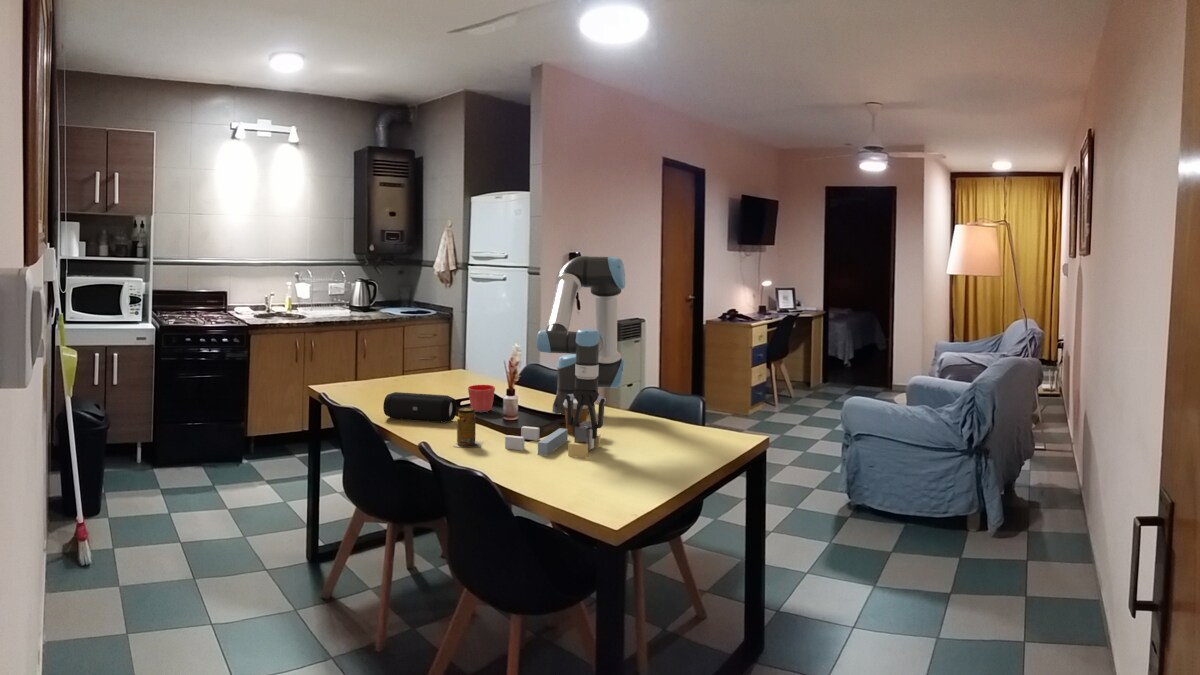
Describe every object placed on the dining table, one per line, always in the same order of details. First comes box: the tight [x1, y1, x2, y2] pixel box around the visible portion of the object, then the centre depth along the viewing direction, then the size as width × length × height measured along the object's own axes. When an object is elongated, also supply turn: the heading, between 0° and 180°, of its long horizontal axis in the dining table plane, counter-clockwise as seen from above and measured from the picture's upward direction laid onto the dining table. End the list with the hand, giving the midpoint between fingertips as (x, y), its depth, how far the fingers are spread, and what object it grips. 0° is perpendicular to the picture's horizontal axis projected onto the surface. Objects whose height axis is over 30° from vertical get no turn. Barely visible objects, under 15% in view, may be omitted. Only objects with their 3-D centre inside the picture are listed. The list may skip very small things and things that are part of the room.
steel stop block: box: [573, 420, 595, 452], centre depth 246 cm, size 10×4×8 cm, turn 163°
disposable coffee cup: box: [563, 398, 589, 436], centre depth 268 cm, size 10×10×12 cm
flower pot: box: [467, 384, 496, 411], centre depth 299 cm, size 11×11×10 cm
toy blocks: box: [504, 425, 601, 459], centre depth 250 cm, size 20×28×4 cm
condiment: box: [453, 407, 484, 448], centre depth 250 cm, size 7×8×12 cm
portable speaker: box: [383, 391, 458, 423], centre depth 281 cm, size 26×10×10 cm, turn 81°
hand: (584, 447), depth 247 cm, fingers closed on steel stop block, 4 cm apart
